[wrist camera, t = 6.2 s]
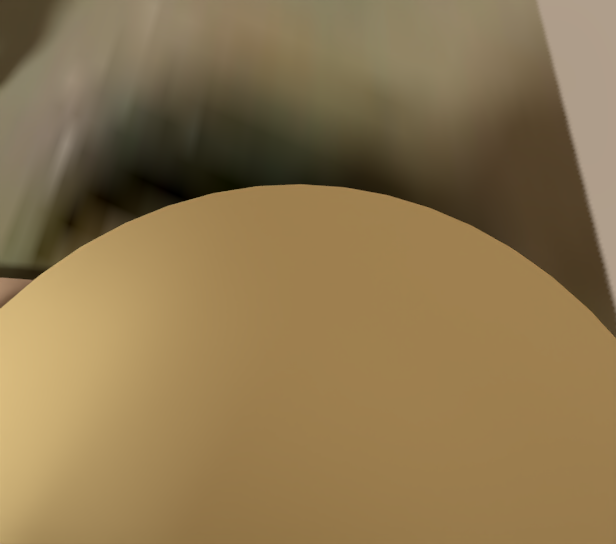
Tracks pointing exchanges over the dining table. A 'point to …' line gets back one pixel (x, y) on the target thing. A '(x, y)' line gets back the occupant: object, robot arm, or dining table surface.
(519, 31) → the dining table surface
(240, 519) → the post
